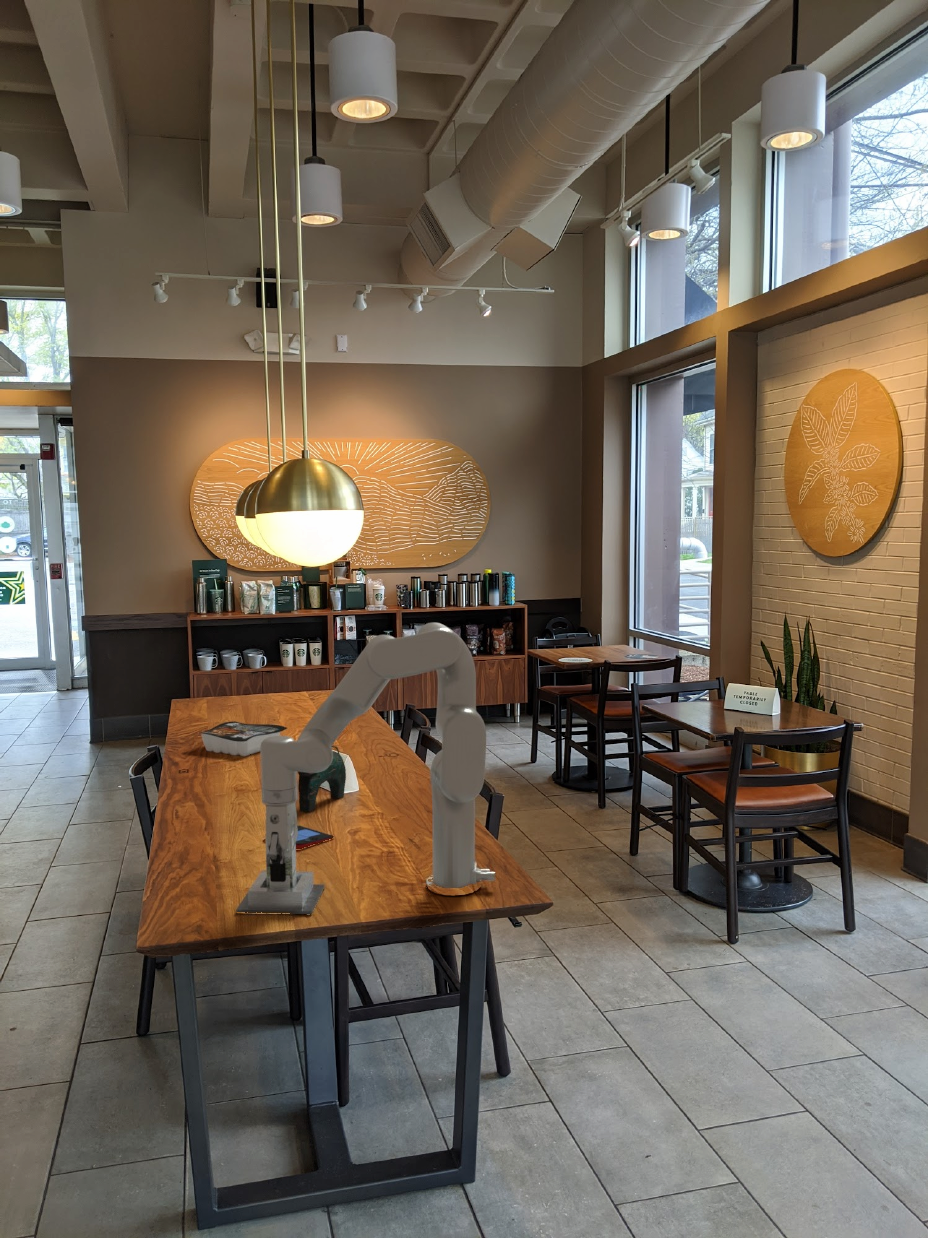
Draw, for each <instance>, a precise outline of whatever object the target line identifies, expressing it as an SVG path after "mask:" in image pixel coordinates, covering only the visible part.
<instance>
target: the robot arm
mask: <svg viewBox="0 0 928 1238" xmlns="http://www.w3.org/2000/svg"><path fill="white" fill-rule="evenodd" d="M434 671H436V675H437V699H436V700H437V701H436V702H437V704H436V714H435V715H436V716H435V729H436V732H437V734H438V735H439V737H440V738H441V740H442V741H441V744H442V745H441V750H440V751H438V752H437V753H435V756H434V757H433V759H432V761H431V764H430V770H429V771H430V777H429V778H430V787H431V799H432V801H431V802H432V874H431V876H433V877H430V876H429V877H428V878H426V881H425V885H426V884H427V885H428V886H430V887H431V886H434V885H429V884H433V883H434V884H435V885H436V886H439V887H442V888H462V887H465V886H468V885H470V884H476V882H481V880H482V881H487V882H489V881H490V882H494V881H496V874H495V873H496V872H495V871H491V870H490V869H489V868H483V869H482V868H479V867H478V865H477V864H478V863H477V862H476V852H475V851H476V828H475V827H476V803H475V801H476V800H475V798H477V796H479V794H480V792H481V791H482V789H483V787H484V786H483V785H484V782H485V775H486V774H485V773H486V756H487V755H486V753H487V730H486V724H485V722H484V719H483V718H482V716H481V714H479V712H478V711H477V703H476V702H477V671H476V665H475V661H474V658H473V655H472V653H471V651H470V649H469V647H468V646H467V644H466V642H465V641H464V640H463V639H462V637H461V636H459V634H457V633H456V632H455V631H454V630H452V629H451V628H450V627H448V626H447V625H444V624H442V623H440V622H427V623H426V624H424V625H422V626H421V627H420V628H419V630H417V633H415V634H411V635H406V636H402V637H394V636H392V635H389V634H379V635H377V636H375V637H373V638H372V639H371V640H370V641H368V643H367V644H366V645H365V647H364V648H363V650H362V651H361V652H360V654H359V655H358V656H357V658H356V659H355V661H354V662H353V664H352V665H351V667H350V668H349V670H348V671H347V672H346V674H345V675H344V676H343V678H342V679H341V680H340V682H339V683H338V684H337V686H336V687H335V689H334V690H333V691H332V692H331V693H330V694H329V695H328V697H327V698H326V699H325V700H324V701H323V703H322V704H321V705H320V707H318V708H317V710H316V712H314V714H313V716H312V717H311V718H310V720H309V721H308V722H307V724H306V725H305V726H304V728H303V729H302V731H301V732H300V734H299V736H298V737H297V740H295V739H294V738H293V737H290V736H288V735H280V736H273V737H268V738H266V739H264V740H263V741H262V742H261V748H260V773H261V775H260V777H261V778H260V779H261V780H260V781H261V803H262V804H263V805H265V807H266V809H265V834H266V840H265V847H266V846H267V849H268V850H269V851H270V853H269V855H270V880H271V882H285V880H286V865H285V863H284V851H285V850H286V851H288V850H290V848H291V836H290V835H291V834H292V833H293V831H294V833H293V835H294V836H293V844H294V843H295V841H296V839H297V837H298V827H297V826H298V819H297V818H298V817H297V816H298V814H297V805H296V802H298V801H299V796H298V772H307V773H318V772H322V771H324V770H326V769H327V768H328V767H329V766H330V765H331V763H332V760H333V751H334V750H333V747H331V746H334V743H335V742H336V741H337V739H339V737H340V735H341V734H342V733H343V731H344V730H345V728H346V727H347V726H348V725H349V724H350V723H351V722H353V720H354V719H356V718H358V717H360V716H363V715H364V714H366V712H367V711H369V710H370V709H371V707H372V706H373V704H374V703H375V702H376V700H377V698H378V697H379V696H380V694H381V693H382V692H383V690H384V689H385V687H386V686H387V685H388V683H389V682H390V681H391V680H396V679H402V678H403V679H404V678H406V677H411V676H416V675H420V674H424V673H430V672H434ZM270 844H271V846H269V845H270ZM278 846H281V847H282V849H277V847H278ZM277 852H281V857H280V855H279V854H277ZM432 878H433V880H431V881H433V882H429V880H428V879H432ZM431 888H432V887H431ZM434 888H437V887H434Z"/></svg>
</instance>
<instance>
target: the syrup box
mask: <svg viewBox="0 0 928 1238" xmlns="http://www.w3.org/2000/svg"><path fill="white" fill-rule="evenodd" d="M293 833H294V831H293ZM293 833H292V834H291V835H290V836H291V848H290V850H288V851H286V850H285V851H284V863H285V865H286V880H285V882H271V880H270V855H269V853H270V851H269V850H268V849H267V846H266V845H265V867H266V868H265V869H266V870H265V871H266V873H267V888H295V887H296V885H297V879H296V871H297V856H296V855H297V850H296V841H295V843H294V844H293V836H294V835H293ZM264 835H265V837H264V840H265V841H266V833H265V834H264ZM269 846H271V844H270V845H269ZM277 849H282V847H281V846H278V847H277ZM277 854H279V855H280V857H281V852H277Z"/></svg>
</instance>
